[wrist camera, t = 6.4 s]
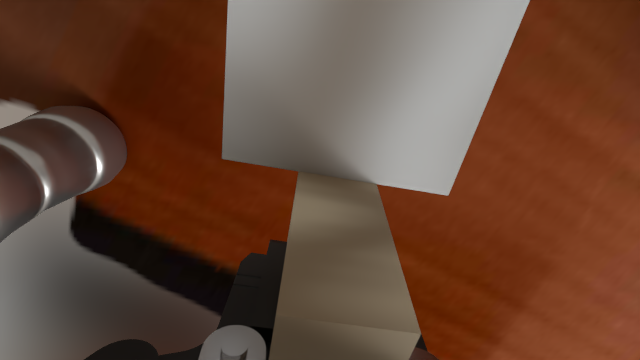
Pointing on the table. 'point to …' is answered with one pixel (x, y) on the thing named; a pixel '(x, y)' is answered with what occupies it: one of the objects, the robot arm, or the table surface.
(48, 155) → the plastic bottle
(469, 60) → the scraper
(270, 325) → the robot arm
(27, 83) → the table surface
